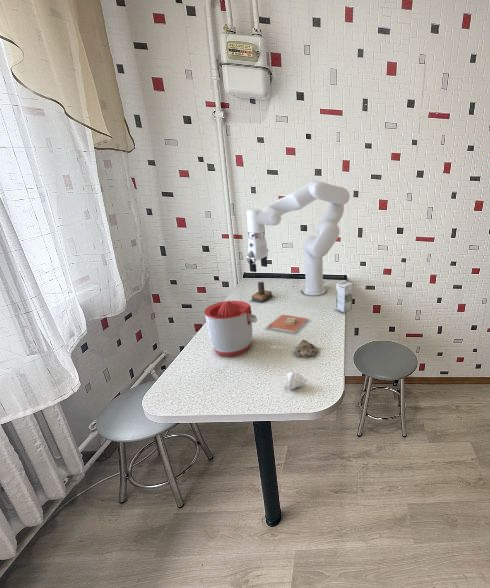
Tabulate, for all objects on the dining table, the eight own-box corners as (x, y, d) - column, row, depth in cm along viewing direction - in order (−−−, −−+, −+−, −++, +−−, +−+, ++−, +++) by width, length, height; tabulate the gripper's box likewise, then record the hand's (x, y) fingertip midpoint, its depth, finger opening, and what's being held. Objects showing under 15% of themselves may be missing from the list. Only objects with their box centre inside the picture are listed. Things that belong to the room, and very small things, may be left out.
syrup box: (343, 306, 169) (343, 280, 163) (352, 310, 166) (352, 283, 160) (335, 310, 164) (335, 282, 159) (344, 313, 161) (345, 285, 156)
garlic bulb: (305, 392, 105) (305, 378, 103) (286, 392, 105) (285, 378, 103) (308, 381, 110) (307, 368, 108) (289, 381, 110) (289, 368, 108)
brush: (261, 294, 178) (260, 279, 174) (271, 296, 176) (270, 280, 173) (252, 301, 169) (250, 284, 166) (262, 302, 168) (261, 286, 165)
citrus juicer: (255, 359, 121) (250, 309, 114) (204, 361, 118) (196, 310, 111) (262, 338, 135) (258, 292, 128) (217, 339, 132) (210, 293, 125)
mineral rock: (320, 351, 124) (299, 348, 121) (317, 361, 125) (296, 359, 122) (315, 338, 133) (295, 335, 130) (312, 348, 134) (293, 345, 131)
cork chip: (287, 320, 149) (287, 317, 148) (296, 321, 149) (296, 318, 148) (285, 324, 145) (284, 321, 145) (294, 325, 145) (294, 322, 145)
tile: (282, 316, 155) (282, 314, 154) (308, 320, 152) (308, 318, 152) (267, 328, 143) (267, 326, 143) (295, 333, 140) (295, 331, 140)
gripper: (253, 239, 152) (255, 274, 158) (272, 233, 167) (274, 265, 174) (238, 237, 153) (241, 272, 159) (259, 231, 169) (261, 263, 175)
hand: (258, 268), depth 166 cm, fingers open, 9 cm apart
